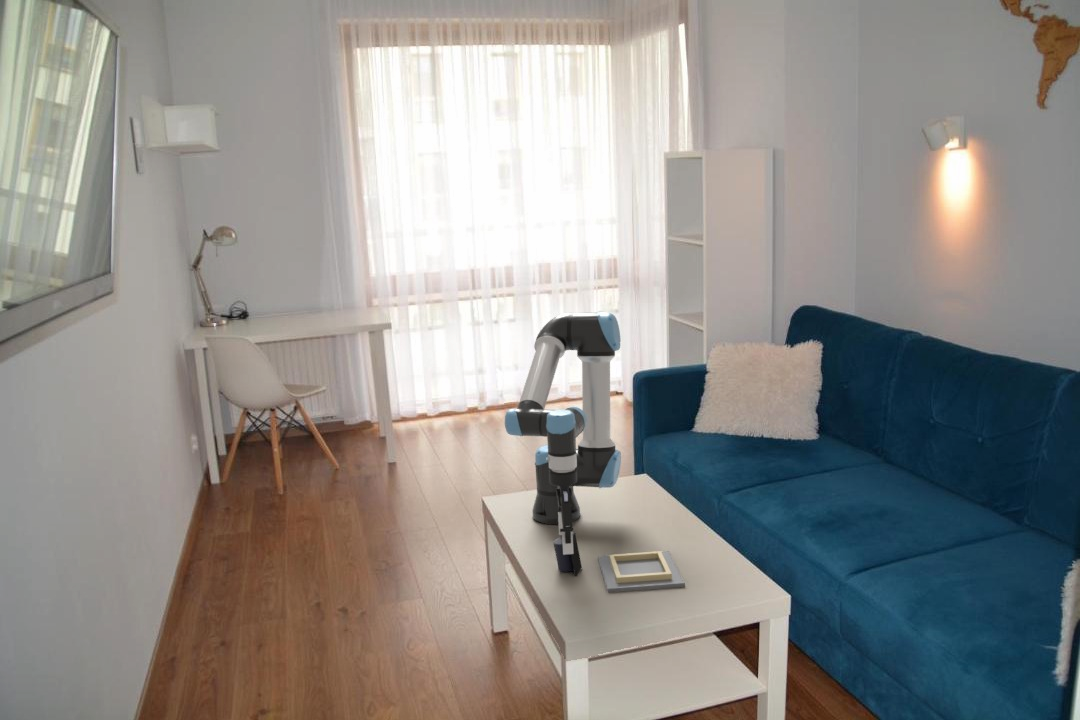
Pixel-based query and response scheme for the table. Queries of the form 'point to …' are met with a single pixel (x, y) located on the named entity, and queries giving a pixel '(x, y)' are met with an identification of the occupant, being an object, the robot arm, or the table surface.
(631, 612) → the table surface
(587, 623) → the table surface
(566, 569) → the speaker
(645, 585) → the mount board
